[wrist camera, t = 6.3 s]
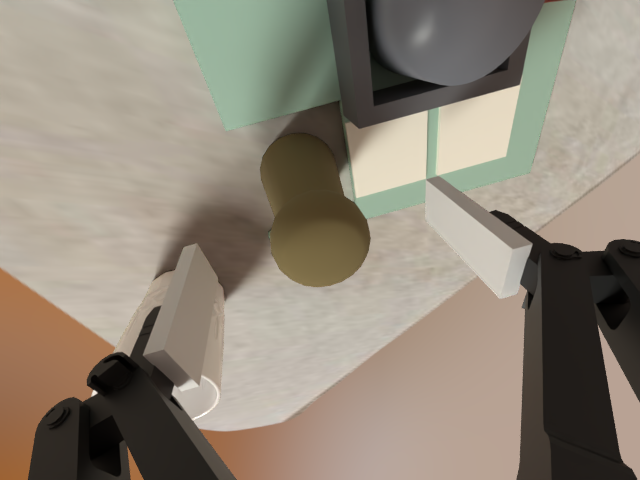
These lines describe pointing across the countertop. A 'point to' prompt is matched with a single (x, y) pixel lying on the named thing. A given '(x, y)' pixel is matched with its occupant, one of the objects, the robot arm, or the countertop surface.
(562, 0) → the die
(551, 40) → the game board
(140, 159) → the countertop surface
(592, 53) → the countertop surface
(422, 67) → the dome
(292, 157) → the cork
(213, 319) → the white cup
